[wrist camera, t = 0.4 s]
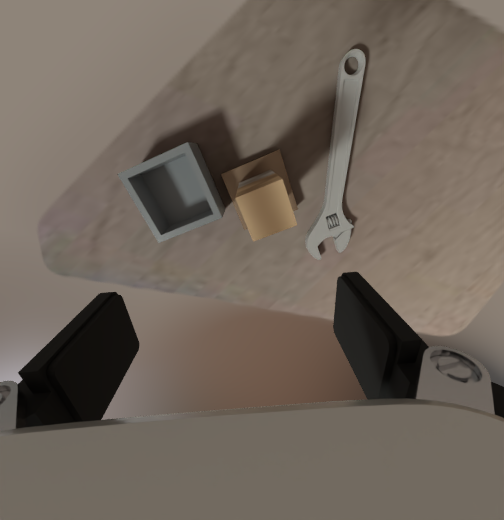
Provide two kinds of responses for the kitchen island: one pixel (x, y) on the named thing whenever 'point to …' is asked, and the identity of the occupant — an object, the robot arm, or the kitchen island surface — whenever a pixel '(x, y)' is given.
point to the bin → (174, 191)
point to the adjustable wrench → (338, 160)
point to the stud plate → (253, 169)
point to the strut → (265, 205)
